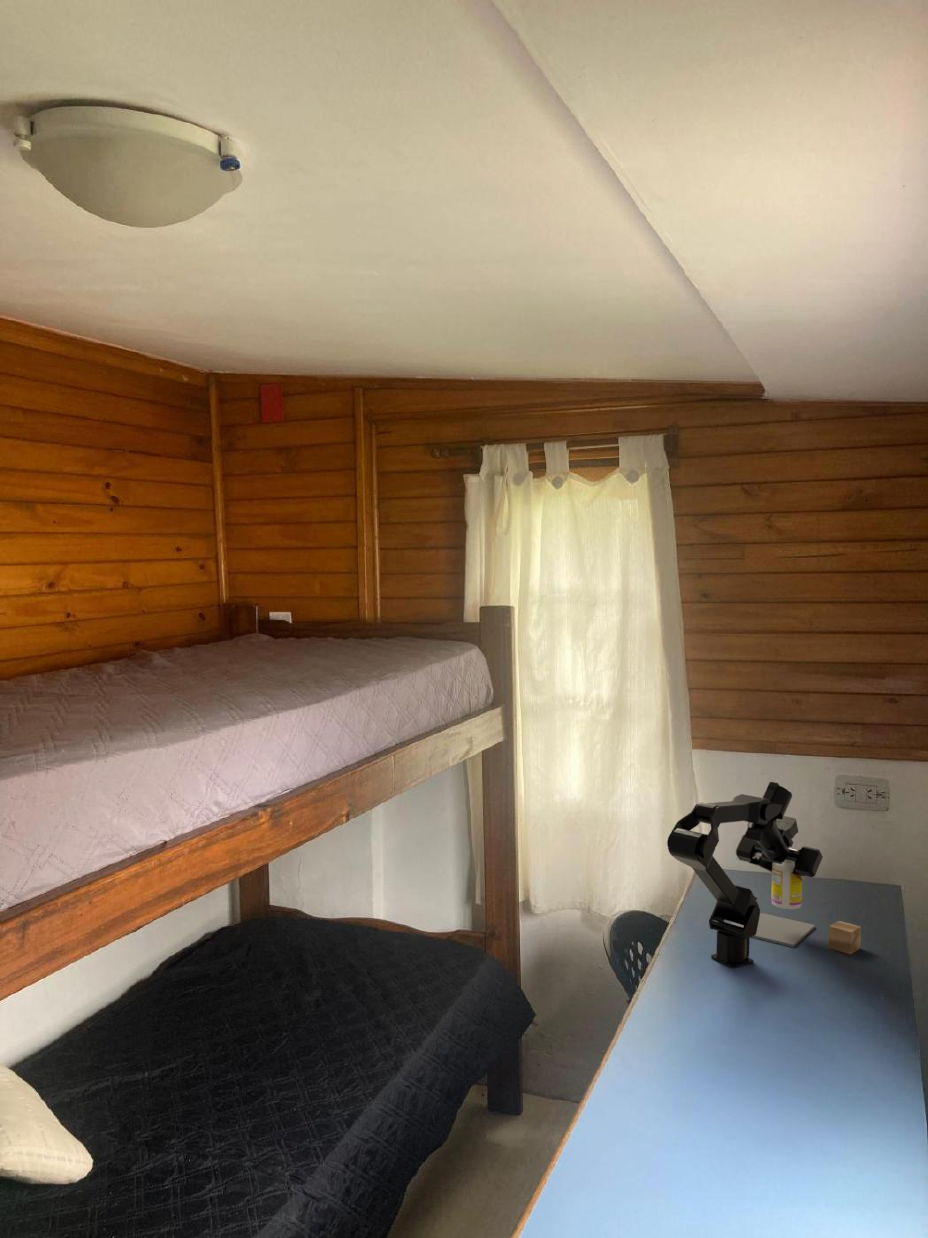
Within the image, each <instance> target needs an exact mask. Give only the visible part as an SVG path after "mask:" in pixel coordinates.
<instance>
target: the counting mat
mask: <svg viewBox="0 0 928 1238" xmlns="http://www.w3.org/2000/svg"><path fill="white" fill-rule="evenodd" d="M729 924H733V925H736V926H740V927H743V926H744V925H741V924H737V923H734V922H730V923H729ZM815 928H816V925H815V924H811V923H807V922H803V921H799V920H795V919H790V918H785V917H780V916H776V915H771V914H767V913H763V912H760V917H759V922H758V927H757V932H756V935H754V936H752V937H751V938H752V939H757V940H761V941H766V942H769V943H773V944H777V943H778V945H782V946H787V947H790V948H794V947H795V946H797V945H798V944H799V943H800V942H801V941H802V940H803V939H804V938H805V937H806V936H807V935H808V934H810V932H812V931H813V930H814V929H815Z"/></svg>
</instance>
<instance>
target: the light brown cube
mask: <svg viewBox="0 0 928 1238" xmlns="http://www.w3.org/2000/svg"><path fill="white" fill-rule="evenodd" d="M861 935H862V926H859V925H856V924H853V923H848V922H845V921H840V920H837V921H836V922H834V923H832V924H830V925H828V946H827V947H828V948H827V949H831V950H835V951H837V952H841V953H845V954H848V955H852V954H854V953H855V952H857V951H859V950H860V949H861V940H862V939H861Z"/></svg>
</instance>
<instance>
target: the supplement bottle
mask: <svg viewBox="0 0 928 1238" xmlns="http://www.w3.org/2000/svg"><path fill="white" fill-rule="evenodd" d="M789 849H791V850H795V851H798V850H797V849H794V848H792V847H789ZM794 867H795V864H794V861H790V860H786V859H785V861H784V862H782V864H778V863H774V862H773V863H772V873H771V898H770V900H771V904H772V906H774V907H776V908H779V909H785V910H798V909H800V908H801V907H802V903H803V901H802V900H803V881H802V880H800V879H799V878H798V877H796V876H795V875H794V874H792V872H793V870H794Z"/></svg>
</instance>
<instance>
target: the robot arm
mask: <svg viewBox="0 0 928 1238" xmlns="http://www.w3.org/2000/svg"><path fill="white" fill-rule="evenodd" d="M792 798H793V794H792V792H791V791H789V790H788V789H787V788H786V787H783V786H781V785H780V784H779V783H778V782H775V781H769V783H768V785H767V787H766V788H765V791H764V793H763V795H762V797H760V796H753V795H748V794H745V793H744V794H743V793H741V794H739V795H736V796H734V797H733V798H732V799H733V800H730V801H720V802H719V801H718V802H717V801H716V802H708V803H707V802H699V803H696V804H695V805H694V807H693V809H692V810H691V812H689V813H688V814H687V815H685V816H683V817H682V818H681V819H679V820H677V822H676V824H675V825H674V827H673V828H672V830H671V832H670V834H669V835H668V837H667V842H666V845H667V849H668V852H669V854H670V855H671V857H673V858H674V859H676V860H677V861H679V862H680V863H682V864H685V866H688V867H690V868H691V869H692V870H693V871H694V873H695V874H696V875H697V877H698V878H699V879H700V881H701V882H702V883H703V884H704V886H705V887H706V888H707V889H708V890H709V892H710V893H711V895H712V896H713V897H714V898H715V900H716V903H715V905H714V909H713V911H712V913H711V915H710V918H709V920H708V924H709V925H708V926H709V928H710V930H714V931H716V953H713V954H711V955H710V958H711V959H714V960H715V961H718V962H720V963H721V964H723V965H725V966H727V967H730V968H738V967H741V966H745V965H749V964H753V963H754V962H755V961H754V959H753V958H750V940H751V939H750V938H752V936H754V935H756V932H757V927H758V922H759V917H760V913H761V910H760V909H761V908H760V907H759V903H758V902H757V900H758V897H756V896H755V895H754V893H753V891H752V890H751V889H750V888H747V887H743V886H740V885H737V884H734V883H733V881H732V880H731V879H730V877H729V876H728V874H727V873H726V872H725V870H724V869H723V867H722V866H721V865H720V864H719V862H718V861H717V860H716V858H715V856H714V853H715V851H716V847H717V846H718V844H719V842H720V836H719V828H720V825H721V824H726V823H736V822H737V823H738V822H747V825H746V826H747V829H746V831H745V833H744V834H743V835H742V836H741V838H740V840H739V842H738V845H737V847H736V849H735V855H736V857H737V858H738V860H739V861H743V862H747V863H749V864H751V865H753V866H755V867H758V868H760V869H763V870H766V871H768V872H770V873H771V874H772V863H773V862H774V863H778V864H782V862H784V861H785V859H786V860H790V861H794V864H795V867H794V870H793V872H792V874H794V875H795V876H796V877H798V878H799V879H800V880H802V882H804V881H805V880H806V877H808V878H813V877H816V873H817V872H818V870H819V867H820V866H821V862H822V860H823V858H824V857H823V855H822V853H821V851H820V849H819V848H813V847H809V846H805V845H804V846H802V847H801V848H800V849H798V850H797V851H795V850H796V849H795V850H791V849H792V847H793V844H794V841H793V838H794V837H795V836H796V835H797V834H798V833H799V827H798V822H797V819H796V818H794V817H789V816H785V814H786V812H787V811H788V810H787V809H788V807H789V805H790V803H791V801H792ZM700 823H703V824H708V825H710V831H709V832H708V834H706V833H702V832H697V831H693V830H692V829H694V828H696V827H698V826H699V824H700ZM789 848H791V849H789ZM725 921H728V922H725ZM729 922H730V923H732V922H734V923H737V924H741V925H744V926H743V927H740V926H736V925H733V924H730V923H729Z"/></svg>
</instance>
